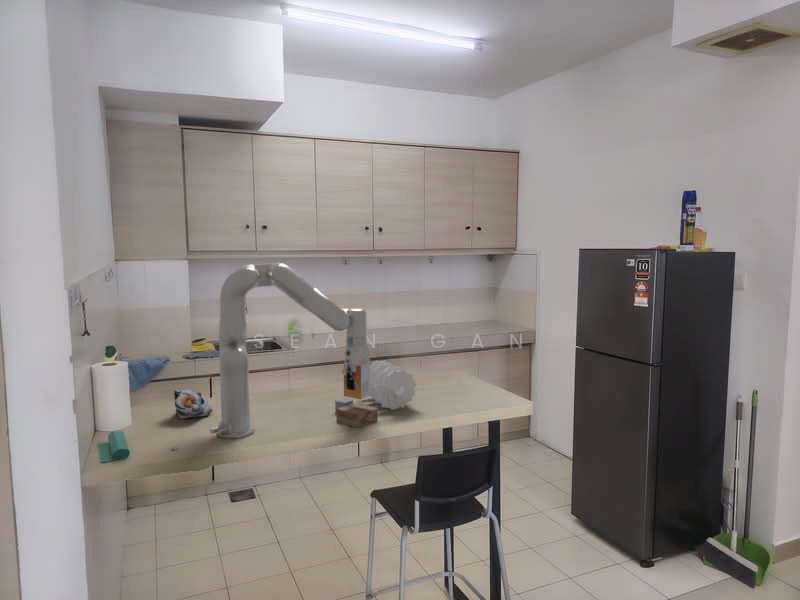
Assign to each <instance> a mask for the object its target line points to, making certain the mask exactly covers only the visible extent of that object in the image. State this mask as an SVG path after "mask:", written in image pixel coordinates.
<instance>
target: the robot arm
mask: <svg viewBox="0 0 800 600" xmlns="http://www.w3.org/2000/svg"><path fill="white" fill-rule="evenodd" d="M271 286H274V287H276V288H277V289H278V290H280V291H281V292H282V293H284V294H285V295H286V296H288V298H290V299H291V300H292V301H294V302H295V303H297V304H298V305H299V306H301V308H303V309H305V310H307V311H309V312H310V313H311V314H312V315H315V317H317V318H318V319H319V320H320V321H322V322H323V323H324V324H326V325H327V326H329V327H330V328H331V329H332V330H333V331H337V332H343V331H345V330H346V333H345V334H346V344H345V351H344V363H345V366H344V365H343V368H342V369H341V373H342V374H343V377H344V376H345V377H346V379H347V389H350V390H354V379H353V377H354V373H357V372H358V368H357V366H358V365H360V364H364V363H370V366H371V365H372V363H371V361H370V359H371V358H370V357H371V356H370V349H369V345H368V343H367V342H368V341H367V310H366V309H365V308H362V307H351V308H341V307H339V306H338V305H337V304H336V303H334V302H333V301H332V300H330V299H329V298H328V297H327V296H325V295H324V294H323V293H322V292H321V291H320V290H319V289H318V288H317V287H315V286H314V285H313V284H312V283H310V282H309V281H307V280H306V279H305V278H304V277H303V276H301V274H299V273H298V272H297V271H295V270H294V269H293V268H291V267H290V266H289V265H287V264H285V263H283V262H270V263H252V264H251V263H250V264H243V265H240V266H239V267H238V268H237V269H236V270H235V271H234V272H232V273H231V274H229V275H228V277H227V278H226V279H225V281H224V282H223V284H222V286H221V289H220V295H219V322H218V343H219V346H218V347H219V375H220V376H219V377H220V380H219V381H220V383H219V384H220V399H221V401H220V405H221V407H220V408H221V421H219V423H218V425H217V426H214V427H211V428H210V429H209V433H210V434H211V435H213V434H215V433H216V434H217V435H218V437H220V438H223V439H240V438H245V437H247V436H250V435H252V434H253V433H254V432H255V426H254V425H252V424H251V422H250V421H251V420H250V389H249V388H250V387H249V383H250V382H249V379H250V378H249V371H250V370H249V369H250V367H249V364H250V362H249V355H248V351H247V330H248V327H247V325H248V324H247V318H246V298H247V295H248V293H249V292H250V291H252V290H253V289H255V288H260V287H261V288H262V287H271ZM349 368H350V369H351V371H349ZM349 372H350V373H351V375H350V374H349Z"/></svg>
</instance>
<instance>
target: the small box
mask: <svg viewBox="0 0 800 600" xmlns="http://www.w3.org/2000/svg"><path fill="white" fill-rule="evenodd" d="M370 363H371V362H370ZM370 363H364V364H360V365H358V366H357V368H358V372H357V373H354V377H353V379H354V390H350V389H347V379H346V377H345V376H344V375H343V397H344V398H345V397H346V398H352V399H355V400H356V399H357V400H364V399H365V398H368V397H371V396H370V366H371V365H370ZM344 366H345V362H343V367H344ZM349 371H351V369H350V368H349ZM349 374H350V375H351V373H350V372H349Z"/></svg>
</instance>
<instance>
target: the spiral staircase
mask: <svg viewBox="0 0 800 600" xmlns="http://www.w3.org/2000/svg"><path fill="white" fill-rule="evenodd" d="M413 376H414V375H413V374H411V373H408V372H406V369H401V367H400V366H398V365H394V364H392V362H388V361H387V360H382V361H381V360H380V361H378V360H375V361H374V362H373V363H371V365H370V396H369V397H371V400H372V401H373V400H374V403H377V404H381V408H387V409H390V410H391V411H392V410H393V411H395V410H398V409H399V408H402V409H404V408H405V407H406V405H407V404H408V402H412V401H413V397H415V396H416V392H415V387H416V386H417V383H416V381H415V380H414V379H413Z"/></svg>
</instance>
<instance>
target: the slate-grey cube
mask: <svg viewBox="0 0 800 600" xmlns="http://www.w3.org/2000/svg"><path fill="white" fill-rule="evenodd" d="M334 401H335V402H334V403H335V404H334V409H335V410H334V411H335V412H334V413H336V414H337V408H341V407H344V406H348V405H351V404H354V400H353V399H349V398H347V397H346V398H345V397H343V398H339V399H336V400H334Z"/></svg>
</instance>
